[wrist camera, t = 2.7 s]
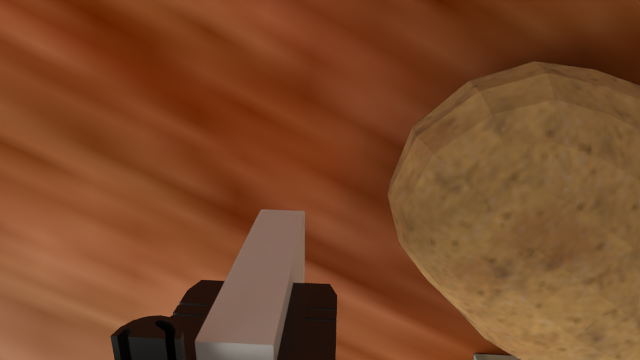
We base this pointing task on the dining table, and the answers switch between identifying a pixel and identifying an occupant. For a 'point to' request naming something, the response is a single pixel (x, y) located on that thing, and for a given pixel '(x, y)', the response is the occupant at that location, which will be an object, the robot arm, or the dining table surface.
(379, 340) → the dining table surface
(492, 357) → the tray
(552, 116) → the potato
